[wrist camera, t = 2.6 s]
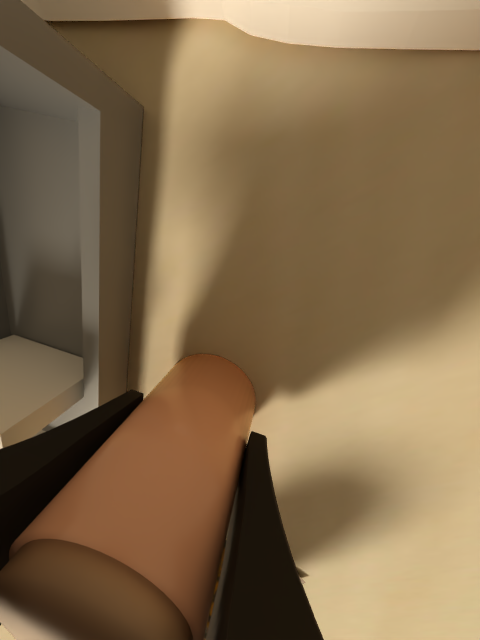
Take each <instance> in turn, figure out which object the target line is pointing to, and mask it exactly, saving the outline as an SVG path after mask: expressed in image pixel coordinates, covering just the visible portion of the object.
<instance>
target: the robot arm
mask: <svg viewBox="0 0 480 640" xmlns="http://www.w3.org/2000/svg"><path fill="white" fill-rule="evenodd" d="M142 401H143V393H140V392H137V391H134V390H130V391H128V392H126V393H124V394H122V395H120V396H118V397H116V398H114V399H112V400H110V401H109V402H107V403H105V404H103V405H101V406H99V407H97V408H95V409H93V410H91V411H89V412H87V413H85V414H83V415H81V416H79V417H77V418H75V419H73V420H71V421H68V422H66V423H64V424H62V425H60V426H58V427H55V428H53V429H51V430H49V431H46V432H44V433H41V434H39V435H37V436H34V437H31V438H29V439H26V440H24V441H21V442H19V443H16V444H13V445H10V446H7V447H4V448H2V449H0V571H1V570H2V568H3V567H4V566H5V565H6V564H7V563H8V562H9V551H10V548H11V545H12V544H13V543H14V541H15V540H16V539H17V538H18V537H19V536H20V535H21V533H22V532H23V531H24V530H25V529H26V528H27V527H28V526H29V525H30V524H31V523H32V521H33V520H34V519H35V518H36V517H37V516H38V515H39V514H40V513H41V512H42V510H43V509H44V508H45V507H46V506H47V505H48V504H49V503H50V502H51V501H52V500H53V498H54V497H55V496H56V495H57V494H58V493H59V492H60V491H61V490H62V489H63V487H64V486H65V485H66V484H67V483H68V482H69V481H70V480H71V479H72V478H73V476H74V475H75V474H76V473H77V472H78V471H79V470H80V469H81V468H82V467H83V466H84V464H85V463H86V462H87V461H88V460H89V459H90V458H91V457H92V456H93V455H94V453H95V452H96V451H97V450H98V449H99V448H100V447H101V446H102V445H103V444H104V443H105V441H106V440H107V439H108V438H109V437H110V436H111V435H112V434H113V433H114V432H115V430H116V429H117V428H118V427H119V426H120V425H121V424H122V423H123V422H124V421H125V420H126V418H127V417H128V416H129V415H130V414H131V413H132V412H133V411H134V410H135V409H136V407H137V406H138V405H139V404H140V403H141V402H142ZM0 625H1V623H0ZM206 640H324V639H323V637H322V634H321V632H320V629H319V627H318V625H317V622H316V619H315V617H314V614H313V612H312V609H311V606H310V604H309V601H308V598H307V596H306V593H305V591H304V588H303V585H302V583H301V580H300V577H299V575H298V572H297V569H296V566H295V563H294V560H293V557H292V554H291V551H290V548H289V544H288V541H287V538H286V535H285V531H284V528H283V524H282V521H281V517H280V513H279V509H278V505H277V501H276V497H275V492H274V487H273V482H272V477H271V472H270V466H269V459H268V451H267V438H266V437H265V436H264V435H261V434H258V433H256V432H253V431H251V434H250V437H249V440H248V443H247V446H246V450H245V454H244V459H243V463H242V468H241V472H240V477H239V481H238V486H237V490H236V495H235V499H234V504H233V509H232V513H231V518H230V522H229V528H228V534H227V541H226V547H225V554H224V559H223V565H222V570H221V575H220V579H219V584H218V588H217V592H216V597H215V601H214V606H213V610H212V615H211V619H210V623H209V628H208V632H207V636H206Z"/></svg>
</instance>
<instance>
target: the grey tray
mask: <svg viewBox="0 0 480 640" xmlns="http://www.w3.org/2000/svg"><path fill="white" fill-rule="evenodd" d="M142 123H143V106H142V105H140V104H139V103H138V102H137V101H136V100H135V99H134V98H132V97H131V96H130V95H129V94H128V93H127V92H126V91H124V90H123V89H122V88H121V87H120V86H119V85H117V84H116V83H115V82H114V81H113V80H112V79H111V78H109V77H108V76H107V75H106V74H105V73H104V72H103V71H101V70H100V69H99V68H98V67H97V66H96V65H94V64H93V63H92V62H91V61H90V60H89V59H88V58H86V57H85V56H84V55H83V54H82V53H81V52H80V51H78V50H77V49H76V48H75V47H74V46H73V45H71V44H70V43H69V42H68V41H67V40H66V39H65V38H63V37H62V36H61V35H60V34H59V33H58V32H57V31H55V30H54V29H53V28H52V27H51V26H50V25H48V24H47V23H46V22H45V21H44V20H43V19H42V18H40V17H39V16H38V15H37V14H36V13H35V12H34V11H32V10H31V9H30V8H29V7H28V6H27V5H26V4H24V3H23V2H22V1H21V0H0V339H3V338H6V337H9V336H11V335H17V336H20V337H22V338H25V339H28V340H31V341H34V342H37V343H40V344H43V345H46V346H49V347H52V348H55V349H58V350H61V351H64V352H67V353H70V354H73V355H76V356H79V357H82V358H83V372H84V397H83V398H82V399H81V400H79V401H78V402H77V403H76V404H74V405H73V406H72V407H70V408H69V409H68V410H66V411H65V412H64V413H63V414H61V415H60V416H59V417H57V418H56V419H55V420H53V421H52V422H51V423H50V424H48V425H47V426H46V427H44V428H43V429H42V430H40V431H39V432H38V433H37V434H35V435H34V436H37V435H39V434H41V433H44V432H46V431H49V430H51V429H53V428H55V427H58V426H60V425H62V424H64V423H66V422H68V421H71V420H73V419H75V418H77V417H79V416H81V415H83V414H85V413H87V412H89V411H91V410H93V409H95V408H97V407H99V406H101V405H103V404H105V403H107V402H109V401H110V400H112V399H114V398H116V397H118V396H120V395H122V394H124V393H126V388H127V372H128V355H129V338H130V322H131V305H132V289H133V272H134V256H135V239H136V223H137V206H138V190H139V173H140V156H141V140H142ZM34 436H33V437H34Z"/></svg>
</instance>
